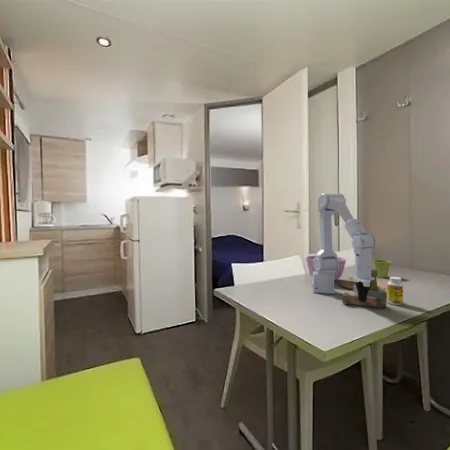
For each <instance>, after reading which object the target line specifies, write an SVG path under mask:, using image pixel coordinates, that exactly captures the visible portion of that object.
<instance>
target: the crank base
mask: <svg viewBox="0 0 450 450" xmlns="http://www.w3.org/2000/svg"><path fill="white" fill-rule="evenodd" d="M371 307H372V309H374V310H375V311H376V310H377V311H383V312H385V311H386V312H388V311H390V310H391V308H390V307H388V306H386V308H385V309H381V308H377V307H373V306H371Z"/></svg>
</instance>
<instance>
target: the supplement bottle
mask: <svg viewBox="0 0 450 450" xmlns="http://www.w3.org/2000/svg"><path fill="white" fill-rule="evenodd" d="M386 284H387V285H386V292H387V302H386V304H387V303H388V304H389V305H394V306H402V305H403V297H404V284H403V282H402V278H401V277H398V276H390V277H389V281H388V282H387V283H386Z"/></svg>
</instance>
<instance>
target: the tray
mask: <svg viewBox="0 0 450 450" xmlns="http://www.w3.org/2000/svg"><path fill="white" fill-rule="evenodd" d="M352 287H353V289H352V291H353V292H354V295H358V291H357V288H356V285H355V284H353V286H352ZM377 288H378V291H368V294H367V296H370V297H384V298H386V299H387V290H384V288H382V287H381V286H380V285H377Z"/></svg>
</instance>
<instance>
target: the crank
mask: <svg viewBox="0 0 450 450" xmlns="http://www.w3.org/2000/svg"><path fill="white" fill-rule="evenodd" d="M342 296H343V298H342V304H343V305H348V304H350V305H357V306H358V305H360V306H366V307H372V306H373V307H377V308H381V309H385V308H386V307H387V299H386V298H384V297H370V296H367V299H366V302H361V301H359V297H358V295H356V294H352V293H349V292H343V294H342Z"/></svg>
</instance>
